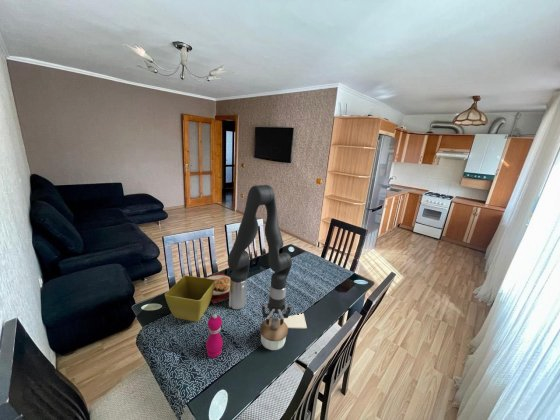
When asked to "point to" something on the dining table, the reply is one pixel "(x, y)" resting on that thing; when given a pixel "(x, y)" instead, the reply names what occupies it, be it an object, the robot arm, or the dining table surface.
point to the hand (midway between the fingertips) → (274, 323)
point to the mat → (296, 321)
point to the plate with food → (220, 287)
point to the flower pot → (190, 297)
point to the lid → (273, 329)
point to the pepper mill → (214, 337)
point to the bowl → (272, 343)
